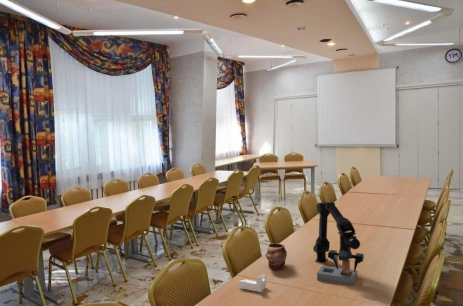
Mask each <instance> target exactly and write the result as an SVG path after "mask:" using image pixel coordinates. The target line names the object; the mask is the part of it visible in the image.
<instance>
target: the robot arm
mask: <svg viewBox="0 0 463 306" xmlns="http://www.w3.org/2000/svg"><path fill="white" fill-rule="evenodd" d="M316 212H317V214H318V216H319V219H318V220H319V223H318V224H319V225H318V227H319V228H318V237H317V238H316V240H315V244H314V245H313V248H312V250H313V252H314V253H316V259H315V261H314V262H317V263H322V264H323V263H326V262H327V261H328V258H329V259H330V260H333V263H334V265H335V267H336V268H337V270H338V268H339V261H348V259H349V260H352V259H354V267H353V270H354V272H355V271H356V270H357V267H358V264H361V263H363V261H364V259H365V255H364V254H363V253H358V252H356V253H355V254H353V253H352V250H357V249H359V248H360V246H361V242H360V240H359V239H358V238H357V235H356V229H355V228H354V225H353V224H352V222H351V221H350V220H349V219H348V218H346V217H344V216H343V214H342V213H341V211H340V210H339V208H338V207H337V206H336V203H335V202H334V201H326V202H325V201H324V202H323V201H322V202H318V203H317V204H316ZM330 215H331V216H332V218H333V219H334V221H335V222H336V225H335V226H336V228H337V230H338V232H337V234H338V235H339V251H338V250H335V249H334V250H333V249H330V246H331V245H330V241H329V239H328V217H329V216H330Z"/></svg>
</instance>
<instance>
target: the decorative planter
mask: <svg viewBox="0 0 463 306" xmlns="http://www.w3.org/2000/svg"><path fill="white" fill-rule="evenodd" d="M287 253H288V252H287V250H286V247H285V245H284V244H281V243H276V242H275V243H270V244H268V245H267V251H266V252H265V258H266V259H267V261H268V268H269V269H270V270H274V271H279V270H280V271H281V270H283V269H284V268H285V267H286V266H285V265H286V259H287V256H288V254H287Z"/></svg>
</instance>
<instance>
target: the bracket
mask: <svg viewBox="0 0 463 306" xmlns="http://www.w3.org/2000/svg"><path fill="white" fill-rule="evenodd" d="M266 287H267V275H266V274H265V275H264V274H261V276H256V280H251V279H242V280H239V282H238V289H242V290H243V289H244V290H249V291H254V292H258V293H262V292H263V291H264V289H266Z"/></svg>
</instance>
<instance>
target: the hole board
mask: <svg viewBox="0 0 463 306" xmlns="http://www.w3.org/2000/svg"><path fill="white" fill-rule="evenodd" d="M316 280H317V281H321V282H328V283H333V284H340V285H345V286H350V287H351V286H352V287H354V286H355V284H356V281H357V280H358V270H357V269H356V271H355V272H354V269H351V268H350V276H348V275H343V273H342V267H338V270H337V268H336V266H329V265H321V266H320V268H319V270H318V271H317V272H316Z"/></svg>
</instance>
